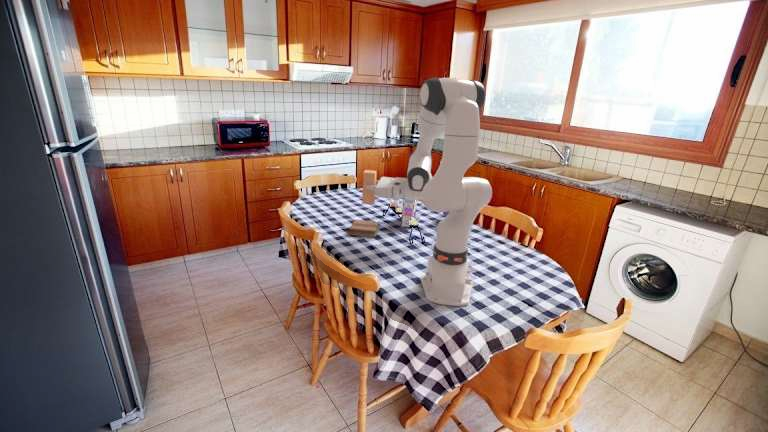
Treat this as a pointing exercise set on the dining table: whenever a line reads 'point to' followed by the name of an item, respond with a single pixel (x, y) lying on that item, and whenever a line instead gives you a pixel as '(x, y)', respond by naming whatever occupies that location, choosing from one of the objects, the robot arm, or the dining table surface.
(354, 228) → the walnut riser
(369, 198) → the terracotta block
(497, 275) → the dining table surface
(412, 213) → the candy box
